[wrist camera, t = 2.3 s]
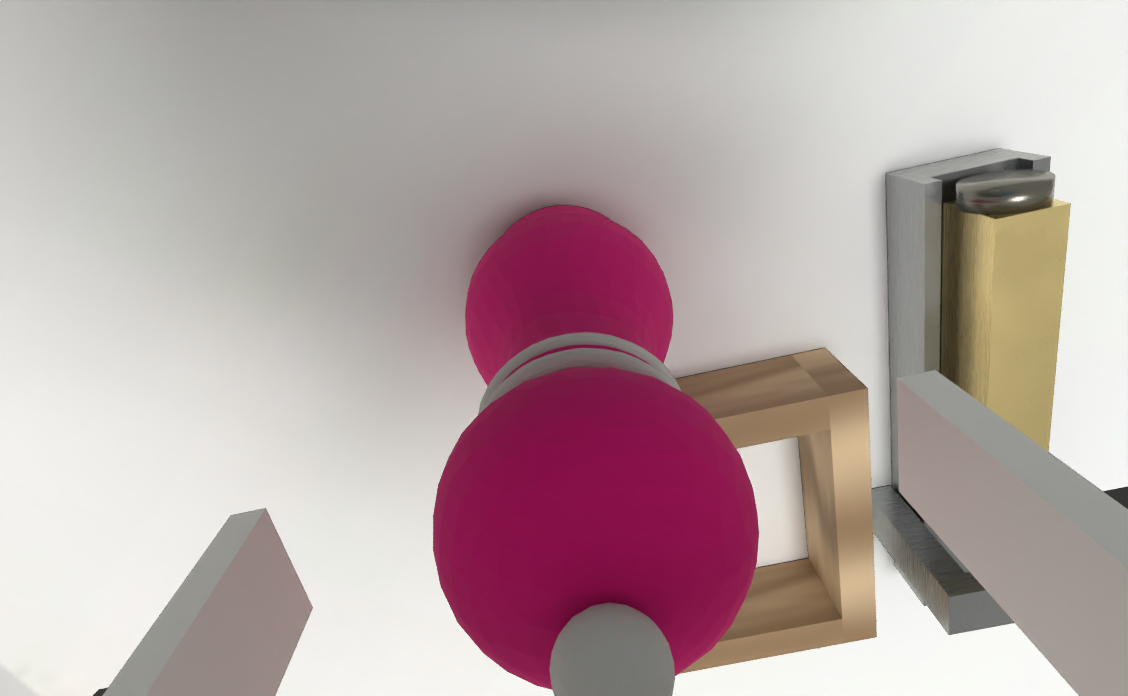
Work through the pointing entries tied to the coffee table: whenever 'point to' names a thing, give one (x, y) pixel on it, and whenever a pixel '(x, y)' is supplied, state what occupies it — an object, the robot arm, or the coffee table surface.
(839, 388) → the cradle
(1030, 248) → the pin
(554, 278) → the pepper mill
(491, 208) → the coffee table surface
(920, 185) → the rail
